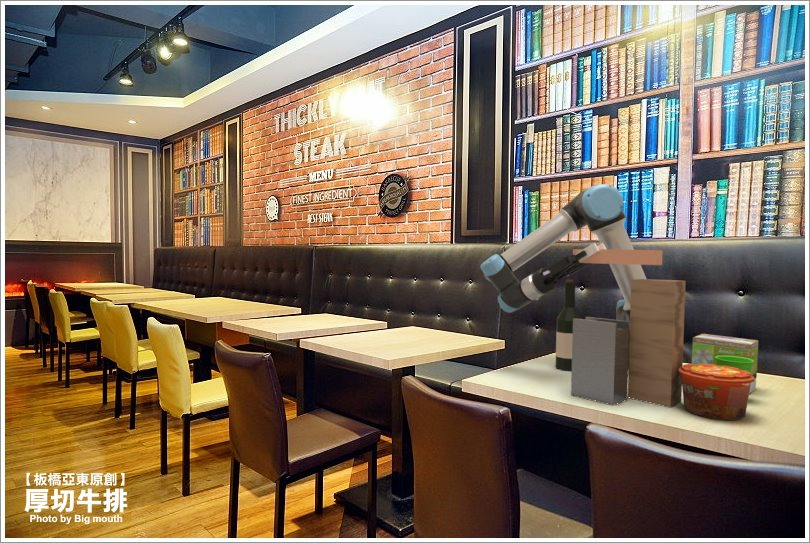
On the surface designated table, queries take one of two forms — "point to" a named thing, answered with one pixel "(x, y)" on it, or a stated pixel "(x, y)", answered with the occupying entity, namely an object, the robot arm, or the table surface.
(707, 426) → the table surface
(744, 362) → the cup
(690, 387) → the food container
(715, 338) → the tea box
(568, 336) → the wine bottle
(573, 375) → the block
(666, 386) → the post
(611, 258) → the bar
